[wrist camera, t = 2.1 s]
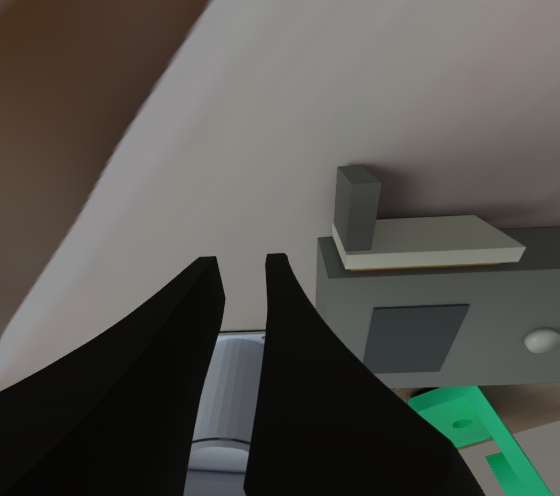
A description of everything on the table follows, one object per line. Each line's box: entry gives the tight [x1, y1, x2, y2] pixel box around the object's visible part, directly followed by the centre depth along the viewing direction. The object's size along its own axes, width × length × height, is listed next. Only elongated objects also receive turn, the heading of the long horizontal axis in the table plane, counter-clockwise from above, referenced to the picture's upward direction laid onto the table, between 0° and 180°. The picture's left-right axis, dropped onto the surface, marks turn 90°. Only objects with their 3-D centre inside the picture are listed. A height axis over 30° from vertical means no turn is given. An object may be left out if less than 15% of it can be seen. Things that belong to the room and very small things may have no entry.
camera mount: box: [408, 386, 553, 496], centre depth 27 cm, size 12×8×10 cm, turn 39°
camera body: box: [316, 227, 560, 388], centre depth 20 cm, size 22×12×6 cm, turn 93°
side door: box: [332, 165, 526, 269], centre depth 15 cm, size 10×5×4 cm, turn 93°
